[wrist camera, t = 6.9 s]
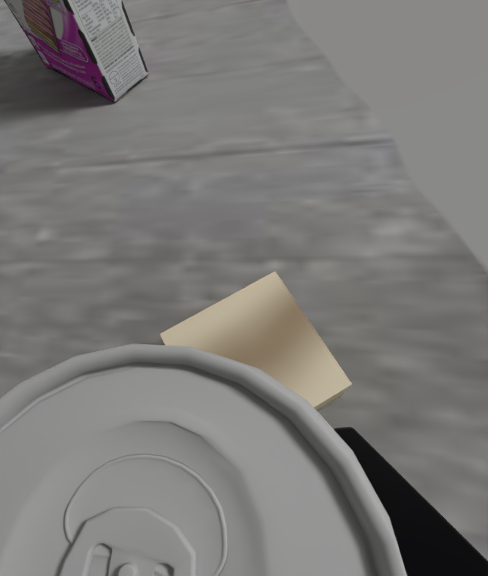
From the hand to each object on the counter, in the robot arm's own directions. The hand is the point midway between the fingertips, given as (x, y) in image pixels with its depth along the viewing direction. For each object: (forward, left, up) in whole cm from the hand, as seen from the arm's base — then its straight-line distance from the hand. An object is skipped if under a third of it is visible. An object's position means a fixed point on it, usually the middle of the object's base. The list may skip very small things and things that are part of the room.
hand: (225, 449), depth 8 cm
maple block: (+3, +3, -13) cm, 14 cm away
